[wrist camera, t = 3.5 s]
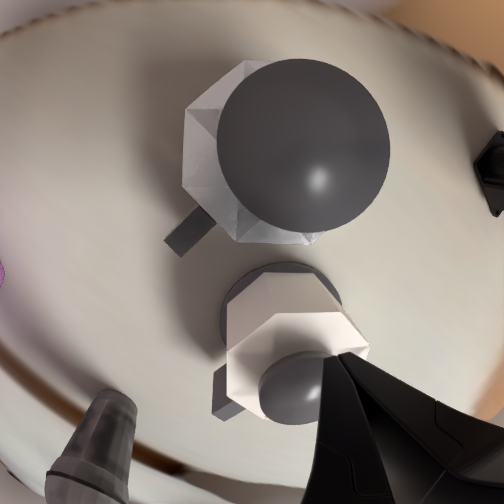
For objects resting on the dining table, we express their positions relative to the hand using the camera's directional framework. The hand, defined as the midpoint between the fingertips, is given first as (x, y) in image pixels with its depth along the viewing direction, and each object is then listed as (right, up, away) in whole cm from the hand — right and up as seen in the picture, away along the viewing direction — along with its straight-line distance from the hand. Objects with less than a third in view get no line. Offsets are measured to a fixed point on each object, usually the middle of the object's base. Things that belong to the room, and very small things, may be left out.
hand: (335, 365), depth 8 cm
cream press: (-1, -2, +14) cm, 14 cm away
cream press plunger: (0, -3, +12) cm, 12 cm away
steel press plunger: (-1, +8, +5) cm, 10 cm away
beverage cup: (-16, -12, +16) cm, 26 cm away
